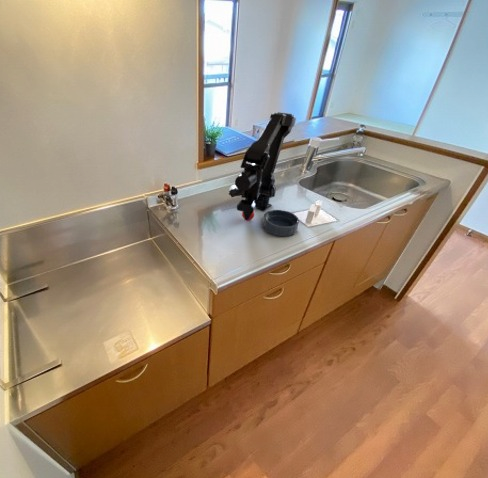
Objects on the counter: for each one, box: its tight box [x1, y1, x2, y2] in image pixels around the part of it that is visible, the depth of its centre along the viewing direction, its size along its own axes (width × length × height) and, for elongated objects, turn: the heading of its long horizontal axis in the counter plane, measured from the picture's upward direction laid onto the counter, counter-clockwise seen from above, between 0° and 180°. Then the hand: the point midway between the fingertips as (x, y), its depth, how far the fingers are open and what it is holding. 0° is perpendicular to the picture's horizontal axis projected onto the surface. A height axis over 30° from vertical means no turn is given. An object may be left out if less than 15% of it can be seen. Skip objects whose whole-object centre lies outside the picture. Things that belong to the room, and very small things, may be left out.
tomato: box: [241, 211, 255, 222], centre depth 111 cm, size 5×5×5 cm
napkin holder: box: [292, 199, 338, 228], centre depth 114 cm, size 15×11×6 cm
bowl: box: [262, 209, 300, 237], centre depth 108 cm, size 13×13×4 cm
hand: (247, 216), depth 112 cm, fingers closed on tomato, 5 cm apart
